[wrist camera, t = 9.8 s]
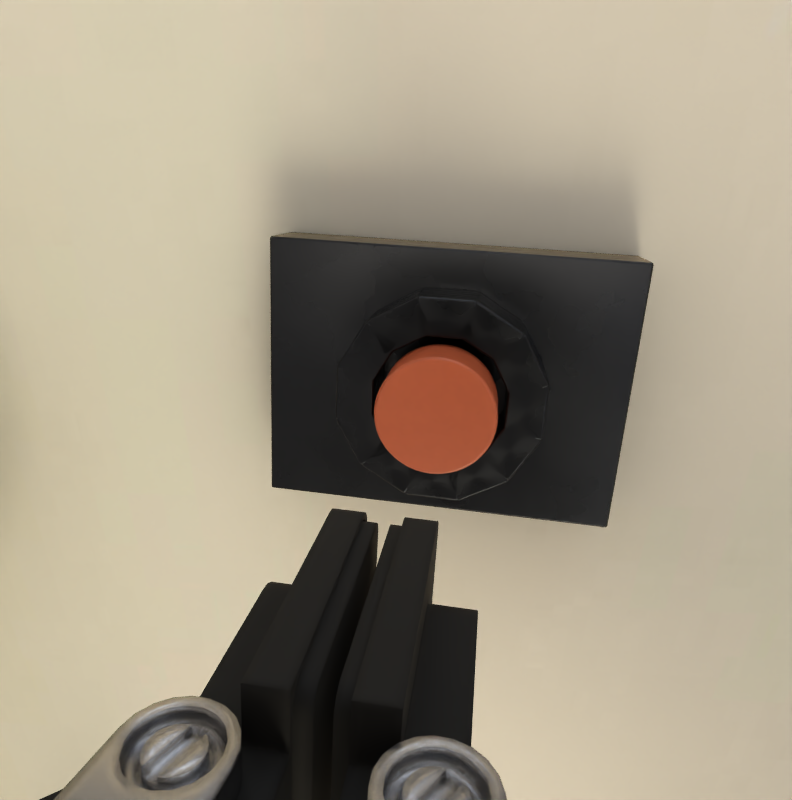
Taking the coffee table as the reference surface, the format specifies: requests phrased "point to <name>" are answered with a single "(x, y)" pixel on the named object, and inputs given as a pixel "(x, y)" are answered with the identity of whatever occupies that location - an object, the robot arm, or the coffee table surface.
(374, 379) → the button box
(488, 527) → the coffee table surface
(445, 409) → the button
